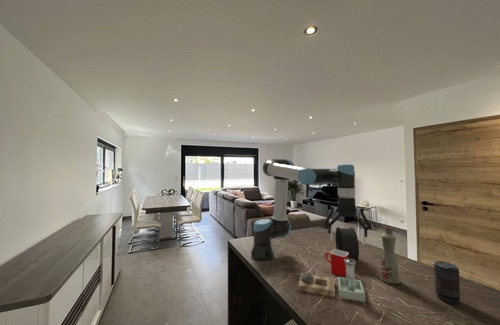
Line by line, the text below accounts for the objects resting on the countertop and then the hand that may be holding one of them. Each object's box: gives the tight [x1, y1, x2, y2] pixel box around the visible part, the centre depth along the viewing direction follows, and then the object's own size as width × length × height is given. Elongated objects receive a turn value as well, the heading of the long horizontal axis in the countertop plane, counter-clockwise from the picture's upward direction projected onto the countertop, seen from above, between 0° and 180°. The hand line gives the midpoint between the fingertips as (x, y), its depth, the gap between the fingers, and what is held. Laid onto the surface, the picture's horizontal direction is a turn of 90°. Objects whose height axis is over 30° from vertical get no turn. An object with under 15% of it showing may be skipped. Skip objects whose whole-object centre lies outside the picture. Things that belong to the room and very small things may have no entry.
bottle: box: [378, 225, 401, 285], centre depth 106 cm, size 9×9×28 cm
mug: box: [325, 249, 349, 278], centre depth 116 cm, size 12×8×11 cm
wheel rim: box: [335, 226, 360, 262], centre depth 132 cm, size 20×9×20 cm, turn 168°
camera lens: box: [433, 260, 461, 305], centre depth 90 cm, size 8×8×15 cm
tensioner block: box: [298, 272, 336, 298], centre depth 100 cm, size 16×12×4 cm
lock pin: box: [344, 258, 357, 292], centre depth 96 cm, size 5×5×14 cm
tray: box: [337, 276, 366, 303], centre depth 95 cm, size 10×12×4 cm
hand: (347, 242), depth 97 cm, fingers open, 13 cm apart
